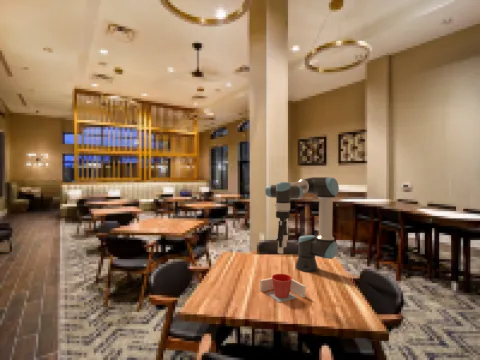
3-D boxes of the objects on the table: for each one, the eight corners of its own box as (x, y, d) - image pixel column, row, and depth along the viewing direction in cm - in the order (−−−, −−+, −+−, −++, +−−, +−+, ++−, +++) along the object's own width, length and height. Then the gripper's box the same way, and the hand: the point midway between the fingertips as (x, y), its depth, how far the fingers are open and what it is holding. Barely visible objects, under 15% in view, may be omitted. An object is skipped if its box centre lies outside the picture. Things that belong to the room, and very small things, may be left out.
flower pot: (270, 298, 137) (271, 280, 137) (272, 289, 148) (272, 272, 148) (291, 300, 135) (291, 281, 135) (291, 291, 146) (291, 274, 146)
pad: (283, 289, 150) (283, 288, 150) (297, 298, 139) (297, 297, 139) (265, 293, 144) (265, 292, 144) (279, 302, 133) (279, 302, 133)
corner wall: (285, 285, 156) (285, 275, 156) (305, 297, 140) (305, 285, 140) (260, 290, 147) (260, 280, 147) (278, 303, 132) (278, 292, 132)
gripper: (279, 207, 155) (278, 243, 155) (272, 213, 131) (271, 255, 131) (292, 208, 152) (291, 244, 153) (287, 213, 129) (286, 257, 129)
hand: (282, 249), depth 142 cm, fingers open, 13 cm apart
